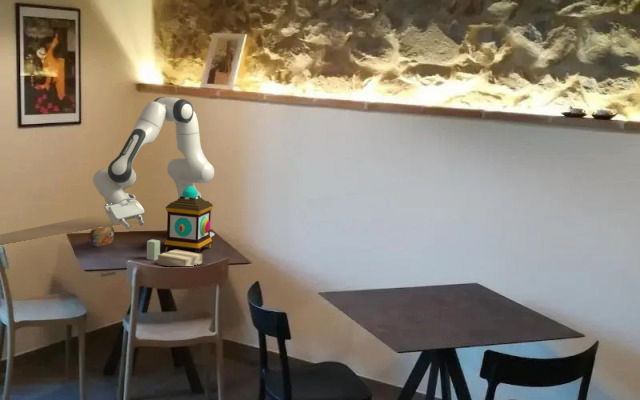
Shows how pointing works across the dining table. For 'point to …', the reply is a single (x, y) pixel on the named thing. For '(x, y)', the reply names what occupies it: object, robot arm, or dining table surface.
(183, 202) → the decorative lantern
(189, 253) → the plinth
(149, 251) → the green block
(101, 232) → the tin
